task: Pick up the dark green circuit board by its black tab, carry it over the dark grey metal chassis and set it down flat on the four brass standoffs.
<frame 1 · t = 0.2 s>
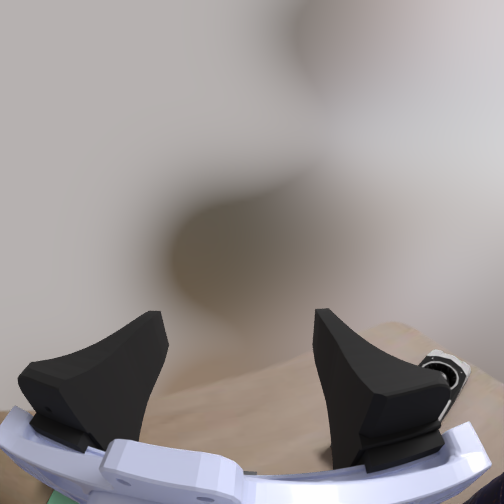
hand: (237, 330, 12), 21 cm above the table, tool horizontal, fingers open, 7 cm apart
graphics card: (416, 414, 27), on the table
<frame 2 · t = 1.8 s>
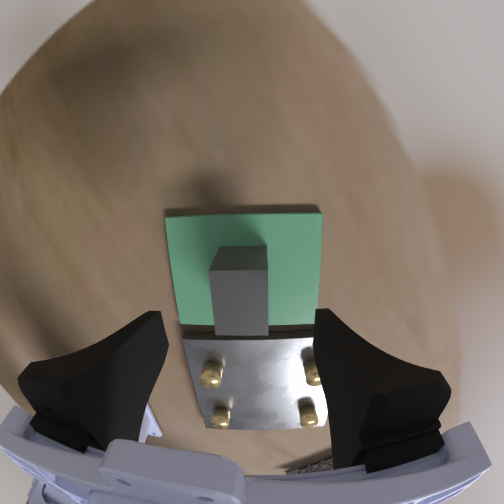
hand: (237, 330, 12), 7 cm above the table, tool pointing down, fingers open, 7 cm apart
graphics card: (349, 475, 31), on the table
circuit board: (245, 269, 19), on the table
chassis: (264, 385, 22), on the table
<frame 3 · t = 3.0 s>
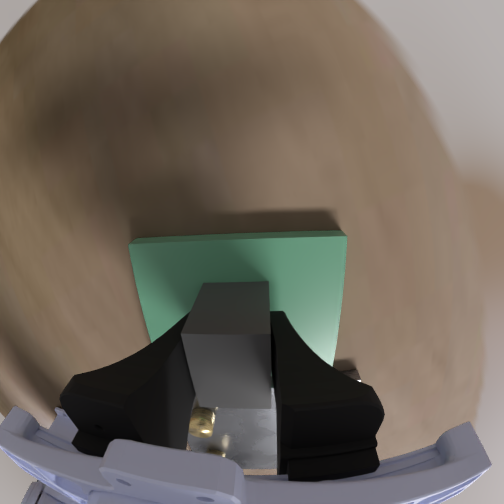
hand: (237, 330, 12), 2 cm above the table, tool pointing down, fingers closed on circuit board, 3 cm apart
circuit board: (240, 308, 14), on the table, touching gripper
chassis: (264, 428, 18), on the table
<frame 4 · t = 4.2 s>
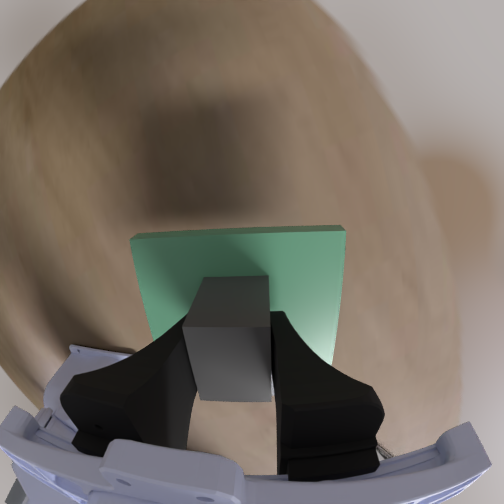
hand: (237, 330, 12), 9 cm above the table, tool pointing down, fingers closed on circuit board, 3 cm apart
flask: (99, 437, 33), on the table
graphics card: (353, 456, 32), on the table
circuit board: (240, 302, 14), point 7 cm above the table, touching gripper
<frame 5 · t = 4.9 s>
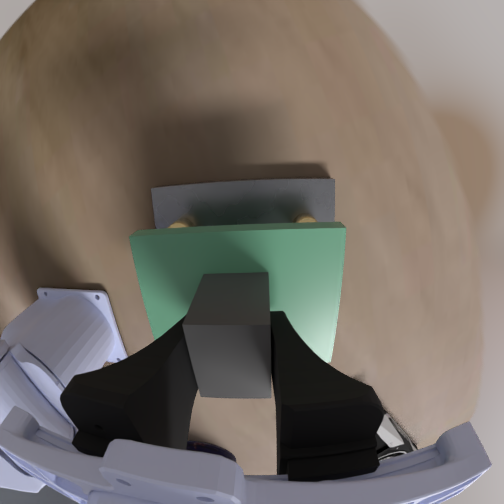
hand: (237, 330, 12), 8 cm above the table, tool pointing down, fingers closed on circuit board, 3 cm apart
dark ridged cylinder: (201, 455, 30), on the table
flask: (75, 415, 30), on the table
graphics card: (364, 437, 29), on the table
circuit board: (240, 299, 14), point 6 cm above the table, touching gripper
chassis: (246, 264, 20), on the table
when the fingers open (5 cm above the table, at t = 5.6 s): circuit board stays where it is, resting on chassis.
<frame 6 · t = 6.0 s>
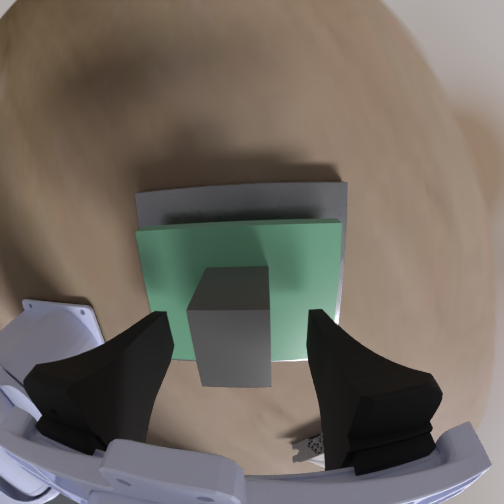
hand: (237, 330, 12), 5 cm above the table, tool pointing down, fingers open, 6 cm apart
graphics card: (370, 451, 26), on the table
circuit board: (241, 293, 15), point 2 cm above the table, touching chassis
chassis: (244, 280, 17), on the table
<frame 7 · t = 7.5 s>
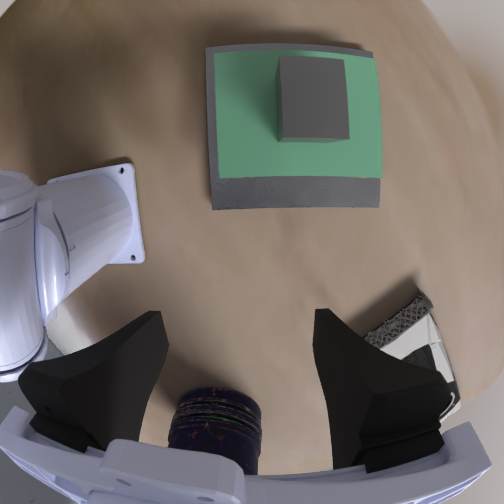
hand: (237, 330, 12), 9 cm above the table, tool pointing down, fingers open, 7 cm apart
dark ridged cylinder: (219, 411, 28), on the table
flask: (68, 366, 27), on the table
graphics card: (411, 376, 26), on the table
circuit board: (300, 112, 15), point 2 cm above the table, touching chassis
chassis: (295, 122, 18), on the table
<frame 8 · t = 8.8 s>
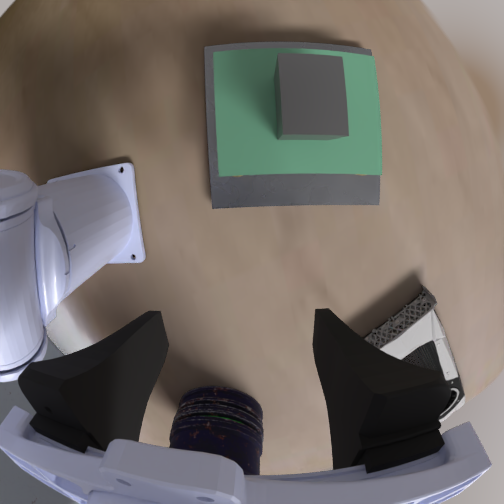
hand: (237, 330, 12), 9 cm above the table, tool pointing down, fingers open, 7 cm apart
dark ridged cylinder: (220, 411, 28), on the table
flask: (69, 366, 27), on the table
graphics card: (415, 373, 26), on the table
circuit board: (299, 110, 15), point 2 cm above the table, touching chassis
chassis: (294, 120, 18), on the table
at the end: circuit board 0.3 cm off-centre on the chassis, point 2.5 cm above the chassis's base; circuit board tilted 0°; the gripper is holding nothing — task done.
